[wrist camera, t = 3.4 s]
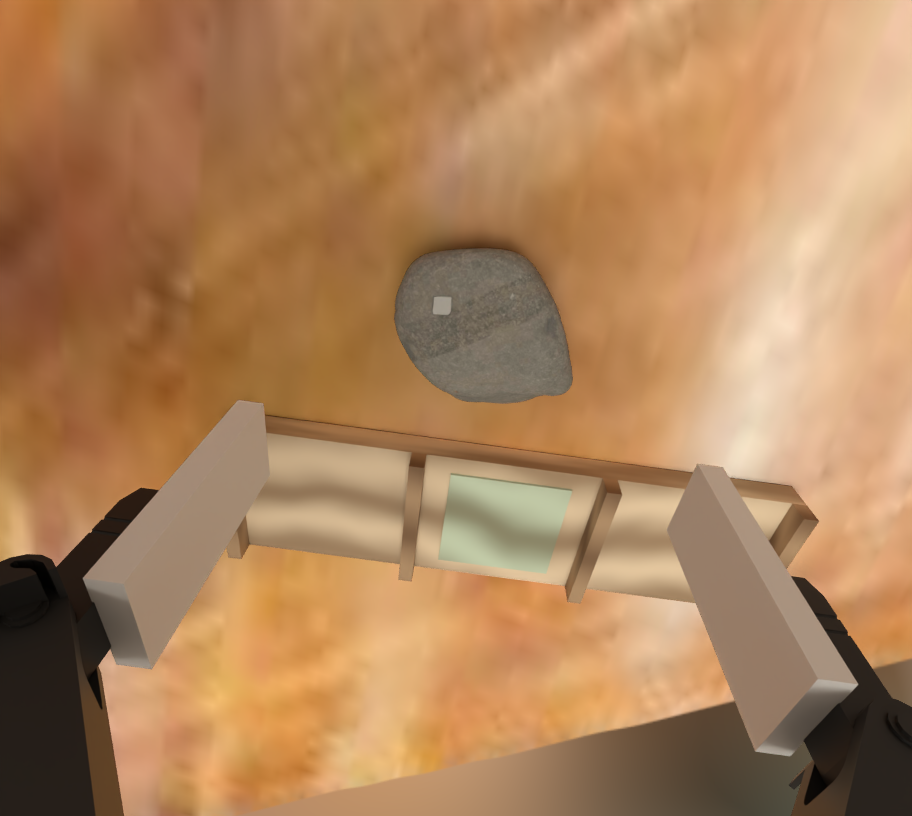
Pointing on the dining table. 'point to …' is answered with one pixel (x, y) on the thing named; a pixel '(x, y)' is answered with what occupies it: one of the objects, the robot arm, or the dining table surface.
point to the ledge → (487, 510)
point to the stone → (483, 326)
